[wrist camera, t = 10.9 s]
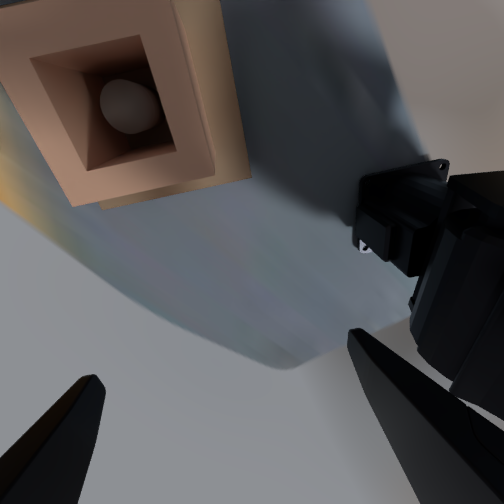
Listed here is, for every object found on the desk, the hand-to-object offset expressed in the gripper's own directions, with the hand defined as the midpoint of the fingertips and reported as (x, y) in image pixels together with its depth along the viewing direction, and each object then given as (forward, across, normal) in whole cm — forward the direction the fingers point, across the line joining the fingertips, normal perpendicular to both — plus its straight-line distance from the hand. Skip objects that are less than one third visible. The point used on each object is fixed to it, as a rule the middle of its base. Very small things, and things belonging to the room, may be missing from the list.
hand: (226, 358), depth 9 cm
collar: (+11, +3, -8) cm, 14 cm away
